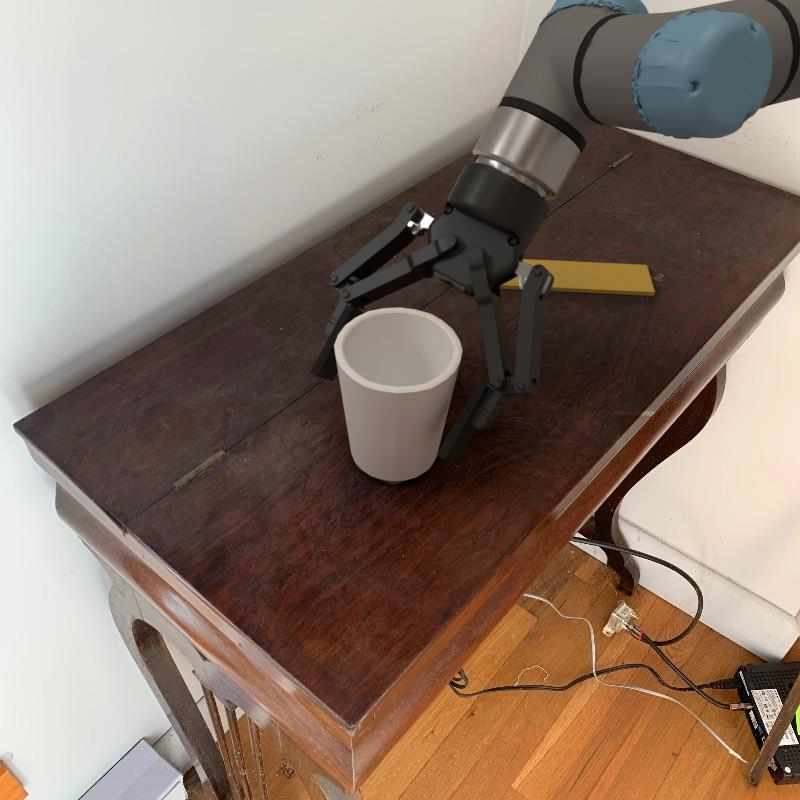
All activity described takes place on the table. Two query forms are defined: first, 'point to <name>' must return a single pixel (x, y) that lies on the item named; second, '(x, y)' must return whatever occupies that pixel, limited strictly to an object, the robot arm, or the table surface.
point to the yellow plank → (594, 277)
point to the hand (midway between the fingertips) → (381, 416)
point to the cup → (396, 389)
